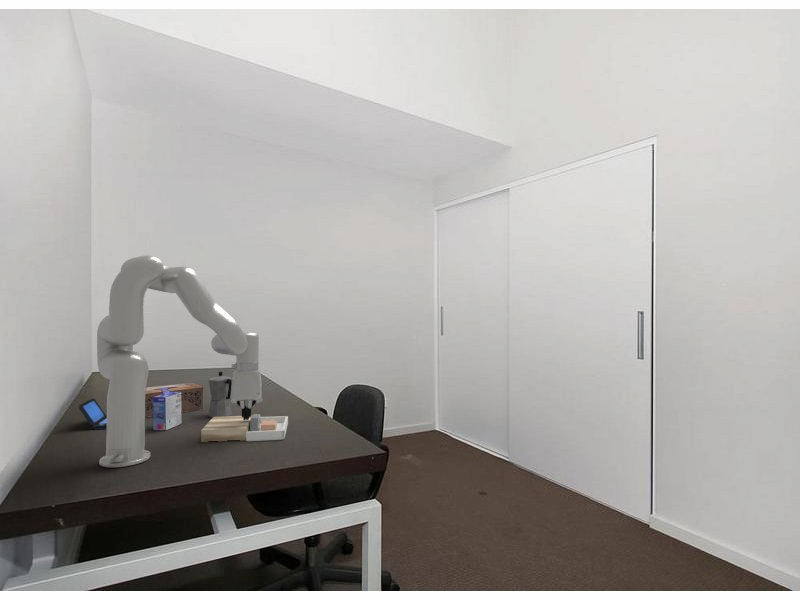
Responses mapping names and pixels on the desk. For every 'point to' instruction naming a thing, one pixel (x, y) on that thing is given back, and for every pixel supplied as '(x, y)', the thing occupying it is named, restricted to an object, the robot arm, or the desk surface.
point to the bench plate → (226, 429)
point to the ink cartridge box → (166, 410)
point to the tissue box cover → (189, 396)
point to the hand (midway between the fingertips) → (246, 419)
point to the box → (269, 435)
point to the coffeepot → (220, 396)
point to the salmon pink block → (269, 425)
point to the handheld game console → (94, 414)
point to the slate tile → (255, 422)
